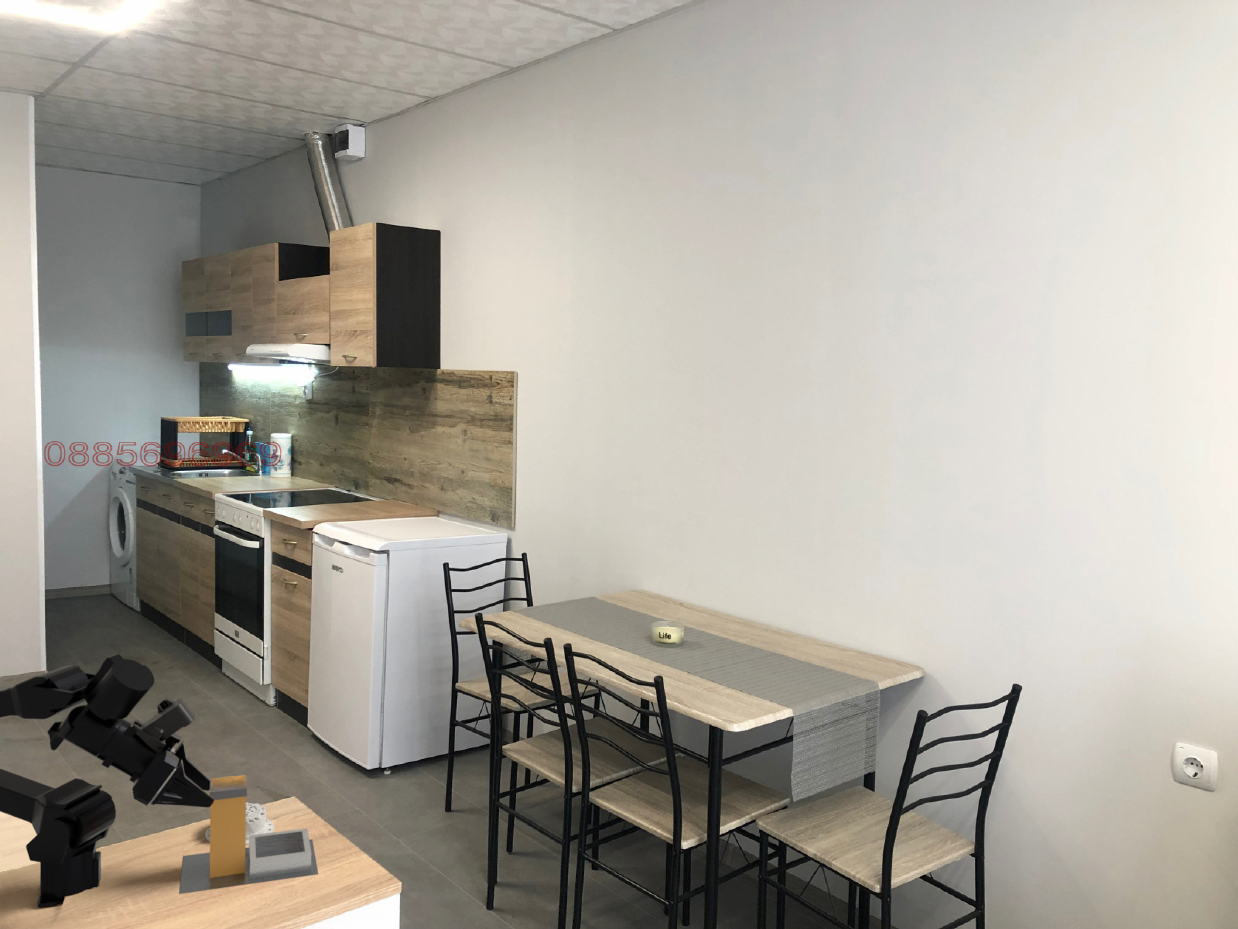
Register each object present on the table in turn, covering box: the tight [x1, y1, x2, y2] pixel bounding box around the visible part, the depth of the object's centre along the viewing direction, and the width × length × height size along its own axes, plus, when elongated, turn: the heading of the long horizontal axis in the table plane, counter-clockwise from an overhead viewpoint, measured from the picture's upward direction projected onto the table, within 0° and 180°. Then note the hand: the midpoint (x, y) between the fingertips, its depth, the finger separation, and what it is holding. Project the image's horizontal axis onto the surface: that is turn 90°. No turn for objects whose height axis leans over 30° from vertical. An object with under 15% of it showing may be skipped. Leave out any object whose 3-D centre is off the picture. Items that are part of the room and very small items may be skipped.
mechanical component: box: [204, 801, 275, 846], centre depth 146 cm, size 10×4×10 cm
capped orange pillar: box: [209, 774, 248, 878], centre depth 135 cm, size 5×5×12 cm
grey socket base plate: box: [179, 827, 319, 895], centre depth 136 cm, size 18×11×4 cm, turn 112°
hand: (211, 795), depth 132 cm, fingers open, 9 cm apart
